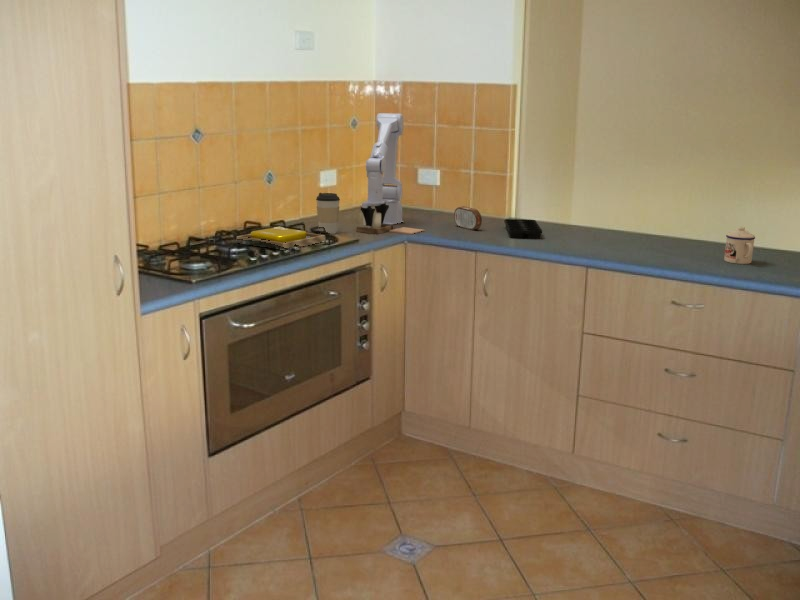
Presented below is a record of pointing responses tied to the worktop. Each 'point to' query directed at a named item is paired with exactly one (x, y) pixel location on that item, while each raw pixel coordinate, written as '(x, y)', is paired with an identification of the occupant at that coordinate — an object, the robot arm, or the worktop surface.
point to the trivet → (406, 230)
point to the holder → (375, 231)
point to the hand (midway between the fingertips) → (374, 224)
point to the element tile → (279, 234)
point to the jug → (374, 220)
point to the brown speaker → (468, 218)
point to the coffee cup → (328, 211)
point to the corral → (303, 242)
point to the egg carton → (523, 229)
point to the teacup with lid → (739, 246)
